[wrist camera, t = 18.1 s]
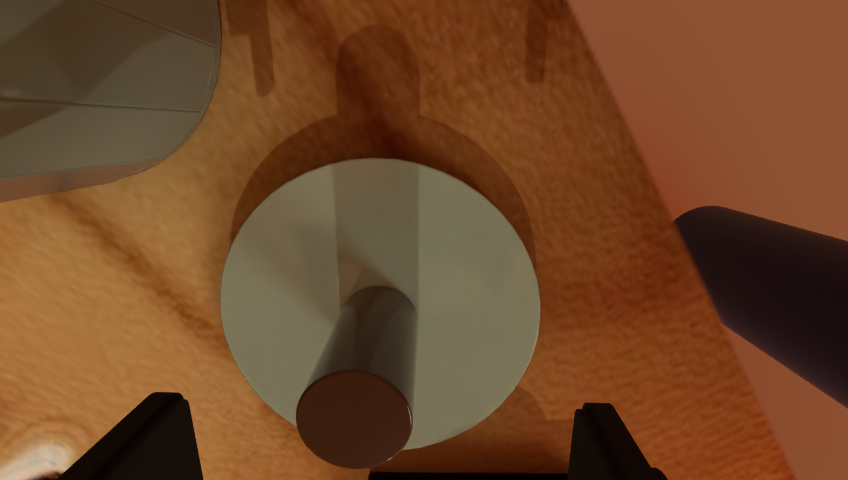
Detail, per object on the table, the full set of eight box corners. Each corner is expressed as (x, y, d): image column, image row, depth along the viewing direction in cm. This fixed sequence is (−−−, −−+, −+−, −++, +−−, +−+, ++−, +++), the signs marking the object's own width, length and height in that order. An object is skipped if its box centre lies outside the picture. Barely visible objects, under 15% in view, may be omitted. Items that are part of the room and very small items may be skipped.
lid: (544, 155, 15) (633, 177, 8) (523, 432, 18) (574, 600, 12) (213, 155, 15) (49, 178, 9) (252, 430, 18) (157, 594, 12)
